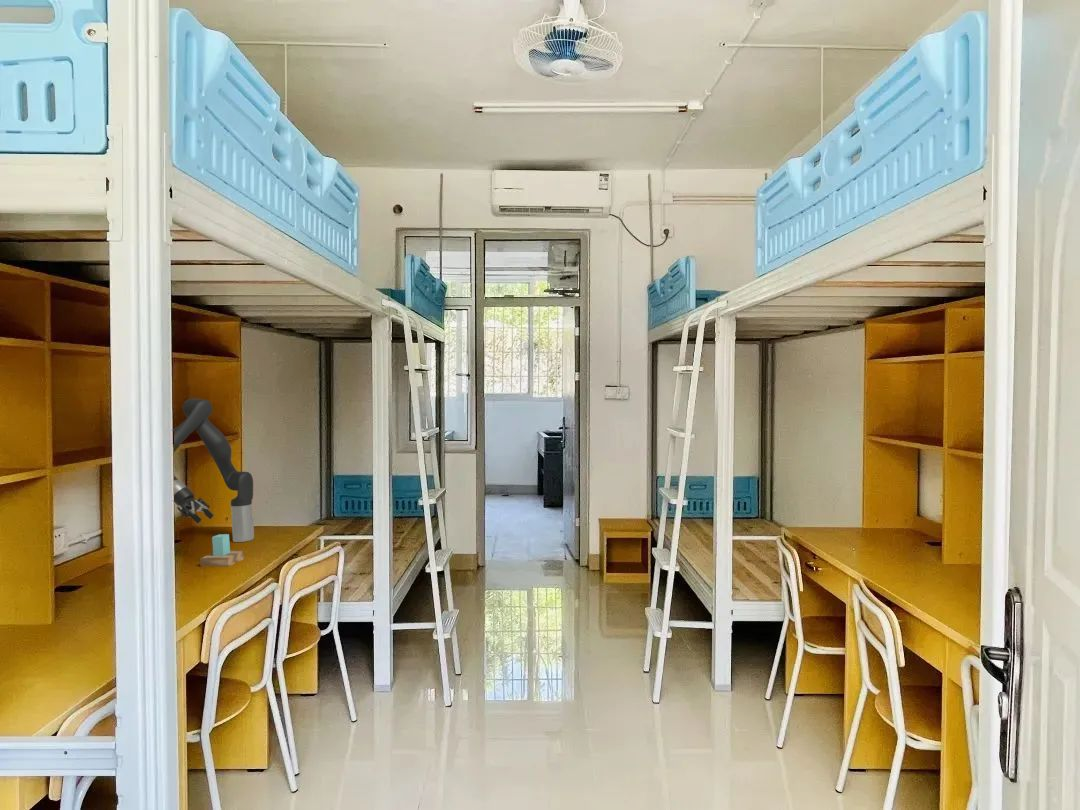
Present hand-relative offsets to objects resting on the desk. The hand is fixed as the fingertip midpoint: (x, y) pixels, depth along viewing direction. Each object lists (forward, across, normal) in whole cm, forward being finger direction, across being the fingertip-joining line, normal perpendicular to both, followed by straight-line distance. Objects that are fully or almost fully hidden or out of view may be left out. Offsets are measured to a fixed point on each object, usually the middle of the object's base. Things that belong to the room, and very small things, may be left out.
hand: (206, 519), depth 280 cm
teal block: (+15, 0, +6) cm, 16 cm away
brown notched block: (+18, 0, +9) cm, 20 cm away
